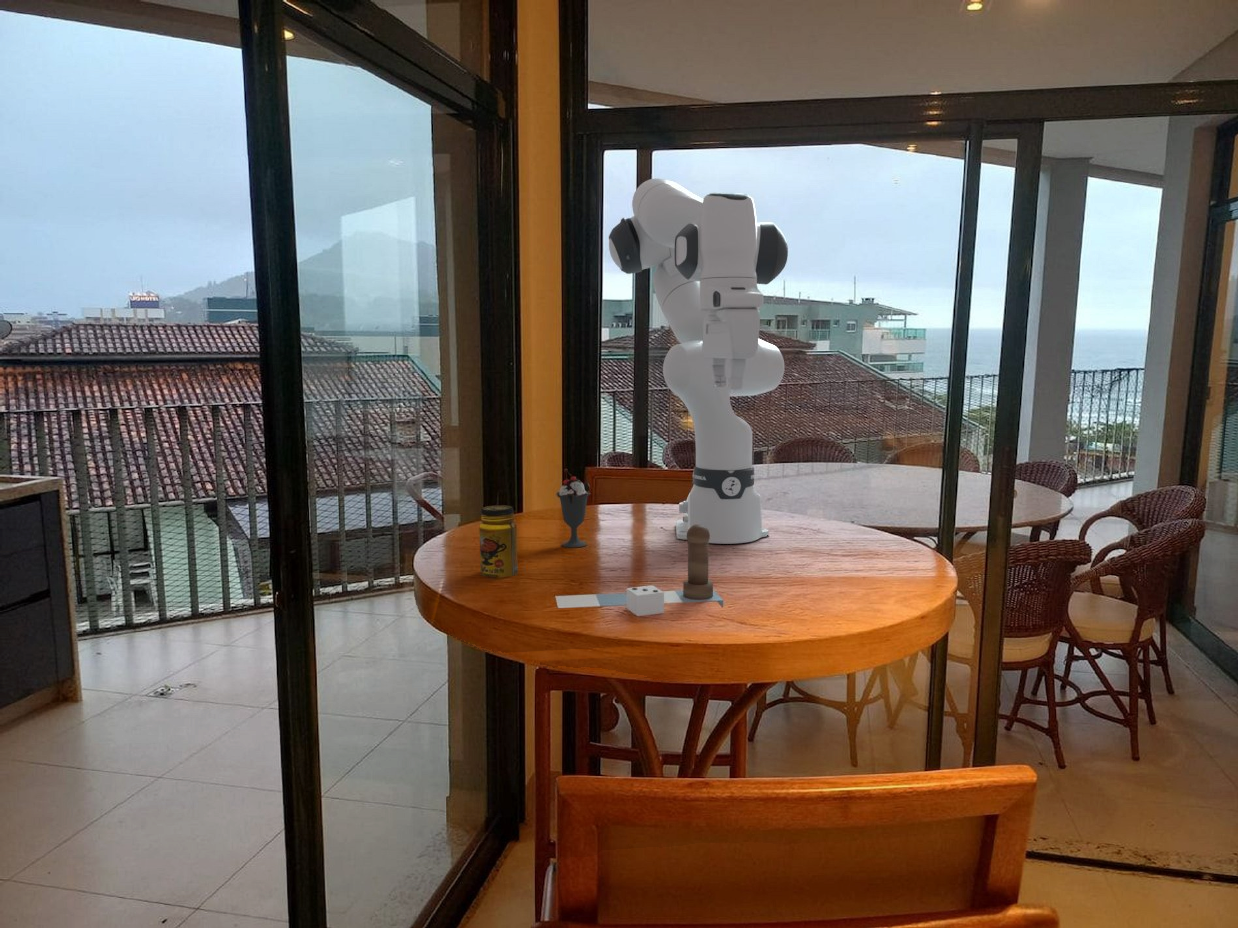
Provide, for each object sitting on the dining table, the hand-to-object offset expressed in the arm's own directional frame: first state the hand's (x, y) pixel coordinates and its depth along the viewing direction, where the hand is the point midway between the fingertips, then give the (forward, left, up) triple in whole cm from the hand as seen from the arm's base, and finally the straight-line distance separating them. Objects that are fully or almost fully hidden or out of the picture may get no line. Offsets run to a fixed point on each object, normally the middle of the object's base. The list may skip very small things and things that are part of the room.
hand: (727, 388), depth 135 cm
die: (+17, -16, -31) cm, 39 cm away
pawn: (+11, -7, -30) cm, 33 cm away
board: (+11, -16, -31) cm, 37 cm away
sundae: (-30, -22, -31) cm, 49 cm away
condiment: (-8, -36, -31) cm, 48 cm away
